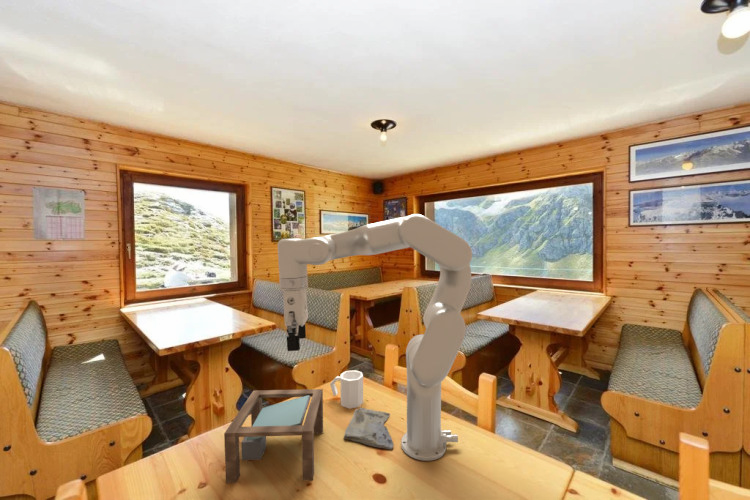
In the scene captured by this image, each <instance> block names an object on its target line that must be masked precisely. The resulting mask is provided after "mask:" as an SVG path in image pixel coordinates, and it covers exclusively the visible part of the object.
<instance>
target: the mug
mask: <svg viewBox="0 0 750 500" xmlns="http://www.w3.org/2000/svg"><path fill="white" fill-rule="evenodd" d="M337 381H340V406H341V407H344V408H346V409H349V410H350V409H358V408H360V407H361V406H362V405H363V404H364V374H363V372H362V371H359V370H356V369H354V370H352V369H351V370H345V371H343V372H342V373H340V376H339V375H337V376H335V378H334V379H333V380H332V381H331V382H330V384H329V385H330V388H331V391H332V395H333V396H334V397H335V396H337V395H338V393H339V391H338V388H337V386H336V382H337ZM361 404H362V405H361Z"/></svg>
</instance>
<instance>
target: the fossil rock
mask: <svg viewBox="0 0 750 500" xmlns="http://www.w3.org/2000/svg"><path fill="white" fill-rule="evenodd" d="M390 415H391V413H389V412H386V411H380V410H374V409H370V408H369V409H368V408H364V407H361V406H360V407H358V408H354V413H353V416H352V418H351V419H350V421H349V424H348V425H347V427H346V428H345V431H344V435H343V439H344V440H349V441H351V442H355V443H360V444H364V445H366V446H369V447H374V448H380V449H386V450H392V449H393V448H394V441H393V438H392V436H391V435H390V432H389V430H388V428H387V427H386V425H385V423H386V422H387V421H388V420H389V418H390Z"/></svg>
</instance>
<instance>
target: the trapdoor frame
mask: <svg viewBox="0 0 750 500" xmlns="http://www.w3.org/2000/svg"><path fill="white" fill-rule="evenodd" d="M323 393H324V389H323V388H321V389H320V388H317V389H316V388H315V389H314V388H313V389H307V388H306V389H269V390H267V389H266V390H265V389H264V390H253V391H252V392H251V394H250V395H249V397H248V398H247V400H246V401H245V402H244V404H243V405H242V406H241V408H240V410H239V411H238V413H237V414H236V415H235V417H234V419H233V420H232V421H231V423H230V424H229V426H228V427H227V428H226V430H225V432H224V433H223V434H224V439H223V440H224V462H225V467H224V468H225V483H226V484H232V483H234V484H235V483H237V482H238V480H239V478H240V476H241V462H240V461H241V457H240V438H244V437H259V436H266V437H289V436H291V437H292V436H293V437H294V436H301V463H302V464H301V467H302V468H301V469H302V470H301V471H302V473H301V475H302V481H303V482H304V481H314V476H315V441H314V440H315V437H314V435H315V434H316V435H317V434H323V431H324V397H323V396H324V394H323ZM308 395H310V396H311V398H310V401H309V403H310V404H309V405H308V408H307V411H306V414H305V418H304V421H303V422H304V423H303V424H302V425H296V426H255V427H252V426H253V424H254V422H255V420H256V419H257V417H258V415H259V413H260V412H261V410H262V408H263V399H264V398H265V399H267V398H269V399H270V398H300V397H304V396H308ZM249 415H250V417H251V418H250V419H251V420H250V421H251V422H250V423H251V426H243V425H244V423H245V422H246V420H247V418H248V417H249Z"/></svg>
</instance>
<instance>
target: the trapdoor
mask: <svg viewBox="0 0 750 500" xmlns="http://www.w3.org/2000/svg"><path fill="white" fill-rule="evenodd" d="M311 399H312V397H311V396H310V395H308V396H304V397H295V398H292V399H289V400H286V401H282V402H278V403H274V404H271V405H267V406H262V410H261V412H260V413H259V415H258V417H257V419H256V420H255V422H254V424H253V426H252V425H251V427H255V426H296V425H303V424H304V423H303V422H304V421H305V418H306V415H307V411H308V408H309V405H310V404H309V403H310V402H311ZM261 437H264V436H259V437H246V440H247V441H249V440H253V439H257V438H261Z"/></svg>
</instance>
